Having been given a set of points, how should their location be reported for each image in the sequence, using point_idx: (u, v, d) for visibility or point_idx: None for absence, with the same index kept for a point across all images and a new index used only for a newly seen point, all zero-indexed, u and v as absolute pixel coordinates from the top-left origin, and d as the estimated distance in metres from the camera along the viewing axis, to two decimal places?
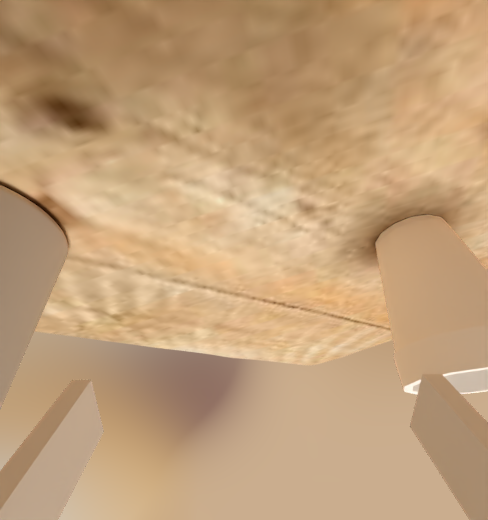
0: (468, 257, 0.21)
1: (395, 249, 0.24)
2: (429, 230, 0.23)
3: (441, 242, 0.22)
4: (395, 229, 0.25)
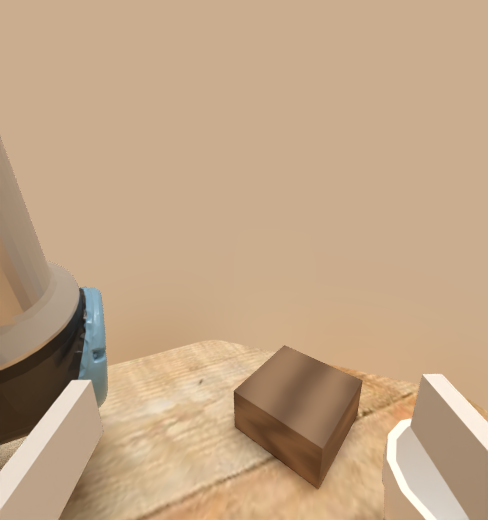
0: None
1: None
2: None
3: None
4: None
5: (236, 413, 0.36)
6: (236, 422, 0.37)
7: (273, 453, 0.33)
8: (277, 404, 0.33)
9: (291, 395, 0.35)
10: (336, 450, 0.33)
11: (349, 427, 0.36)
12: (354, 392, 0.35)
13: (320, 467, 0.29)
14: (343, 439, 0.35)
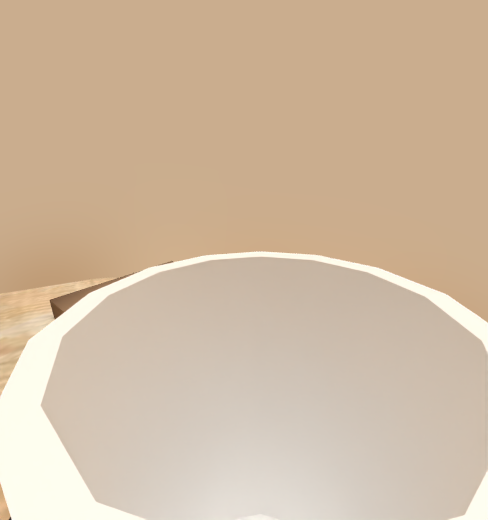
0: None
1: None
2: None
3: None
4: None
5: None
6: None
7: None
8: None
9: None
10: None
11: None
12: None
13: None
14: None
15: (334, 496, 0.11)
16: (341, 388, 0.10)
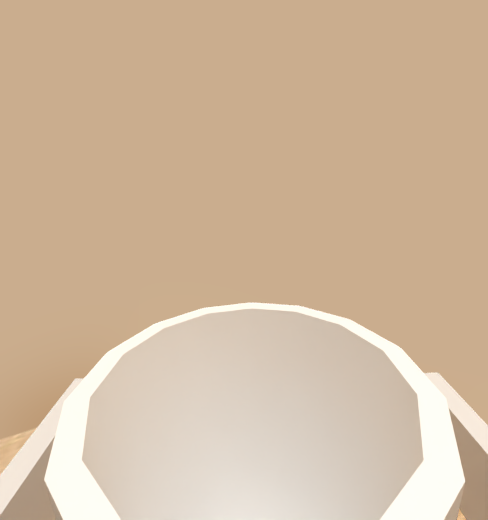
0: None
1: None
2: None
3: None
4: None
5: None
6: None
7: None
8: None
9: None
10: None
11: None
12: None
13: None
14: None
15: None
16: (325, 425, 0.11)
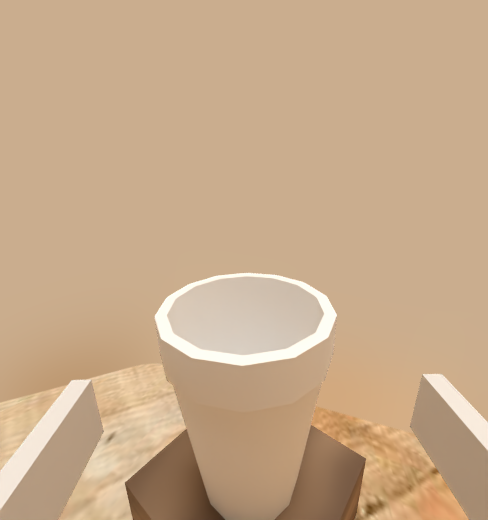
0: None
1: None
2: None
3: None
4: None
5: (134, 519, 0.20)
6: None
7: None
8: None
9: None
10: None
11: None
12: (350, 489, 0.18)
13: None
14: None
15: None
16: (289, 344, 0.19)
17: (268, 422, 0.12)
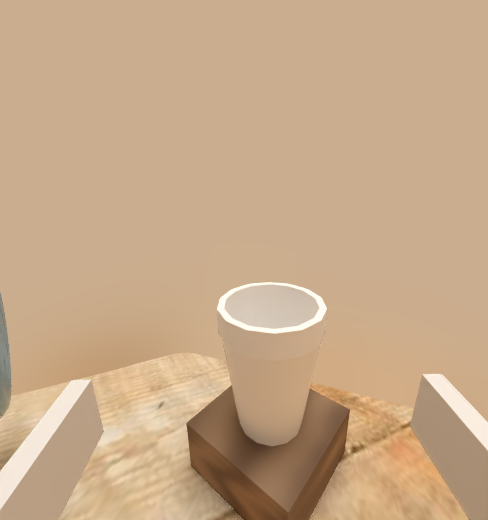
0: None
1: (237, 407, 0.27)
2: None
3: None
4: (239, 417, 0.28)
5: (191, 450, 0.29)
6: (192, 461, 0.30)
7: (233, 506, 0.26)
8: (238, 443, 0.26)
9: None
10: (313, 503, 0.26)
11: (333, 469, 0.29)
12: (338, 426, 0.27)
13: None
14: (324, 486, 0.28)
15: None
16: None
17: (287, 369, 0.22)
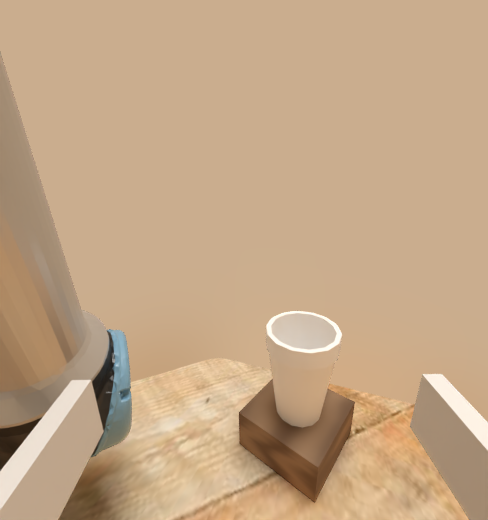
0: None
1: (277, 401, 0.38)
2: None
3: None
4: (276, 408, 0.39)
5: (241, 432, 0.40)
6: (241, 440, 0.41)
7: (274, 469, 0.37)
8: (278, 426, 0.37)
9: None
10: (330, 466, 0.37)
11: (343, 444, 0.40)
12: (347, 413, 0.39)
13: (316, 483, 0.33)
14: (337, 456, 0.39)
15: None
16: (318, 346, 0.39)
17: (316, 375, 0.33)
